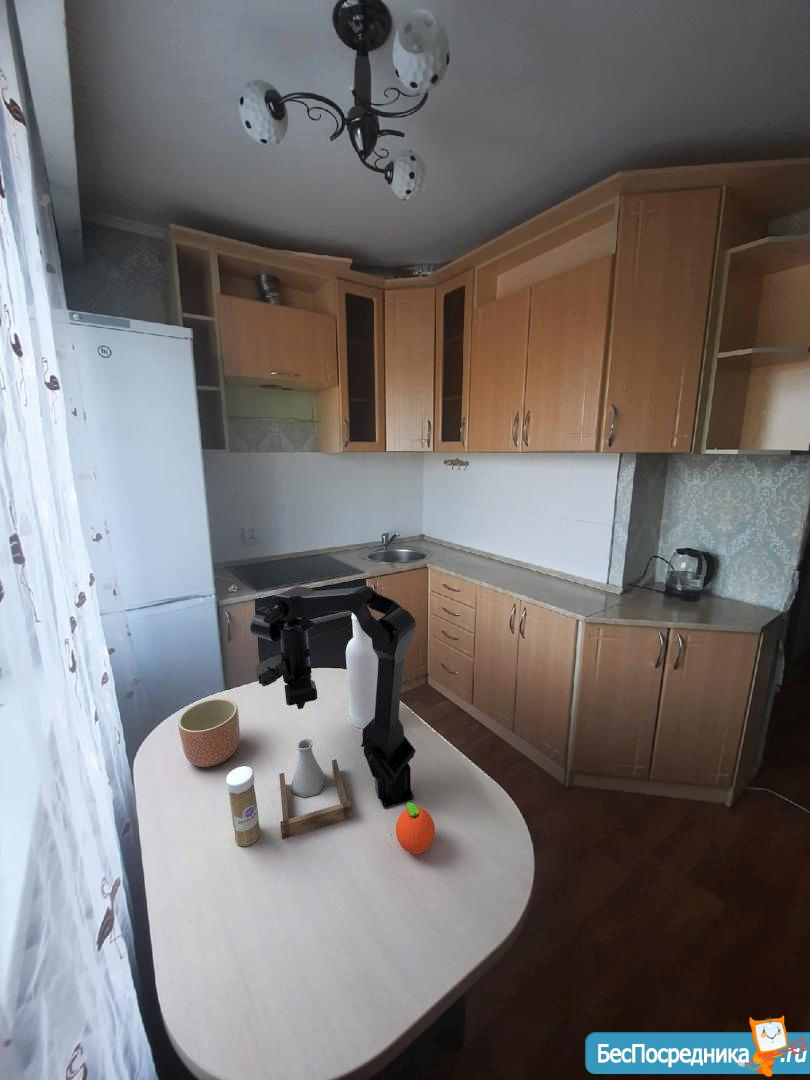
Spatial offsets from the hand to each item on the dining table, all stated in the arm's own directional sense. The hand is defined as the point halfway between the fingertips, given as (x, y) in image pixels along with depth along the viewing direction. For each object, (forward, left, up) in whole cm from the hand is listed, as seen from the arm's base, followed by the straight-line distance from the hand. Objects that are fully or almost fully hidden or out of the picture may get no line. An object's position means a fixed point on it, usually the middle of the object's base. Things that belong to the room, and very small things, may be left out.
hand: (300, 708), depth 97 cm
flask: (0, +10, -12) cm, 16 cm away
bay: (0, +14, -12) cm, 18 cm away
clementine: (-16, +30, -12) cm, 36 cm away
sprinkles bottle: (+12, +18, -12) cm, 25 cm away
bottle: (-16, -7, -12) cm, 21 cm away
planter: (+20, -7, -12) cm, 24 cm away
